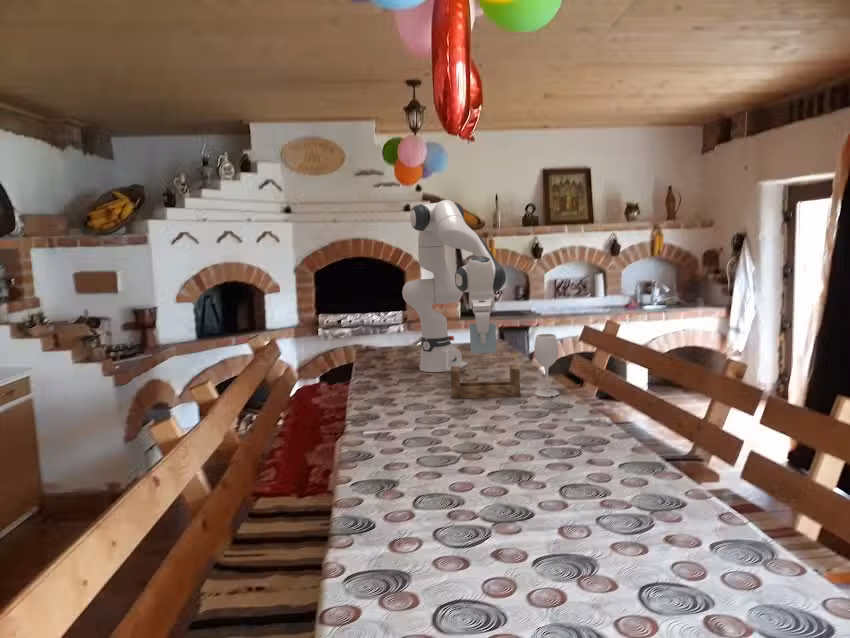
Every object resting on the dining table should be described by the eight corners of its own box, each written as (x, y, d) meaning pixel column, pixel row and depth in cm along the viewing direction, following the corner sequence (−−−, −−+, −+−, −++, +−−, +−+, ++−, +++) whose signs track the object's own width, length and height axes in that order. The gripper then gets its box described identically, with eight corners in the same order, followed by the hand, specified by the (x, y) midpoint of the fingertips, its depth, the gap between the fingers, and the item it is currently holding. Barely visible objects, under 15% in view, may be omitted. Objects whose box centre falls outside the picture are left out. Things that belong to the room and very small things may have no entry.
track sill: (518, 391, 236) (518, 364, 235) (520, 397, 228) (519, 368, 227) (452, 393, 238) (451, 366, 237) (451, 398, 230) (450, 371, 229)
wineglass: (558, 390, 234) (557, 332, 232) (561, 396, 226) (559, 336, 223) (533, 391, 235) (532, 333, 233) (535, 397, 227) (534, 337, 224)
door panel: (496, 350, 232) (495, 323, 231) (496, 352, 229) (495, 324, 228) (470, 351, 233) (469, 323, 232) (470, 353, 230) (469, 325, 228)
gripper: (472, 300, 239) (474, 337, 241) (472, 306, 219) (474, 347, 221) (490, 299, 239) (491, 337, 241) (491, 305, 219) (492, 346, 220)
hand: (483, 342), depth 231 cm, fingers closed on door panel, 3 cm apart
